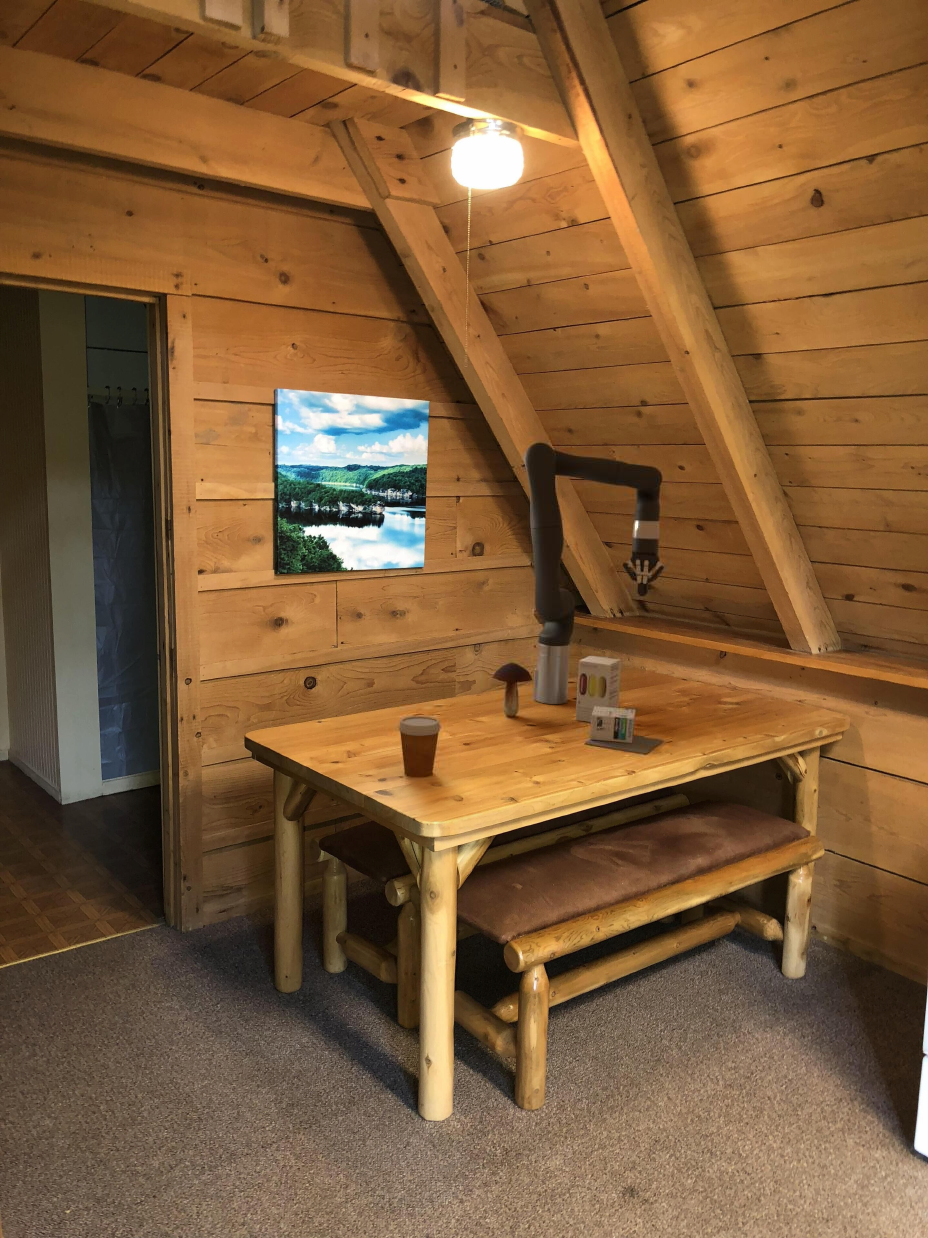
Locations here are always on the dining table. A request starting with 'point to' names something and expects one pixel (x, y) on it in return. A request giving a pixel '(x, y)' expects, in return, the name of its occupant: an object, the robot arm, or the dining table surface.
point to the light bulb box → (612, 724)
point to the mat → (629, 744)
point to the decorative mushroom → (511, 685)
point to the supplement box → (597, 685)
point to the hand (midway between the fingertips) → (642, 595)
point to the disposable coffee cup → (419, 744)
